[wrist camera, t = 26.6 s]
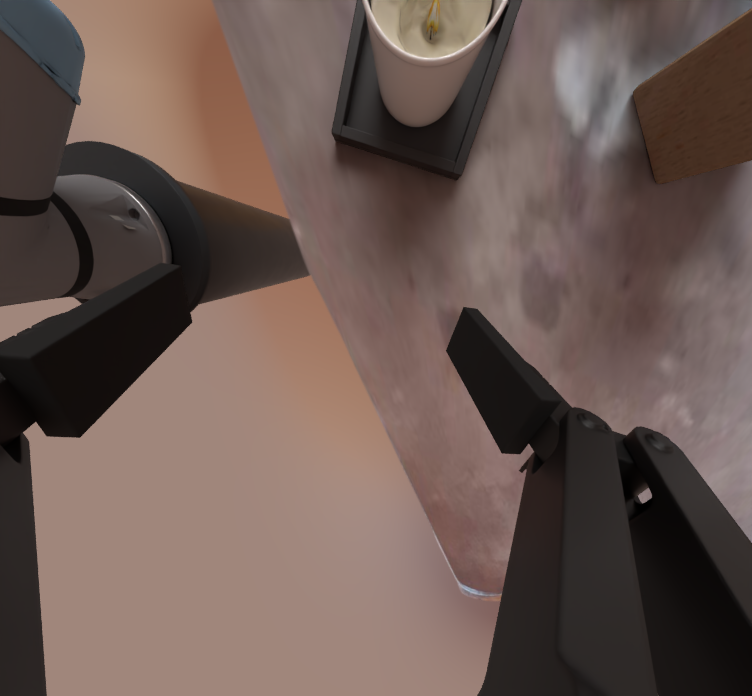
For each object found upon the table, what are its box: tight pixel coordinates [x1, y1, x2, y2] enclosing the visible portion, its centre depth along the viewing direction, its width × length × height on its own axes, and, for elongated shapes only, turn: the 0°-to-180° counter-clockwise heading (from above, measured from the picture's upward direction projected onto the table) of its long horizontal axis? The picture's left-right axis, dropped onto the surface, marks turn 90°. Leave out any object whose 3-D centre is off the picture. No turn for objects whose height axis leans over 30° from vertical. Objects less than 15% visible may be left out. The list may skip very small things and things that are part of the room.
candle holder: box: [362, 0, 508, 127], centre depth 22 cm, size 10×10×12 cm
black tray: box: [332, 0, 522, 180], centre depth 27 cm, size 14×14×2 cm
